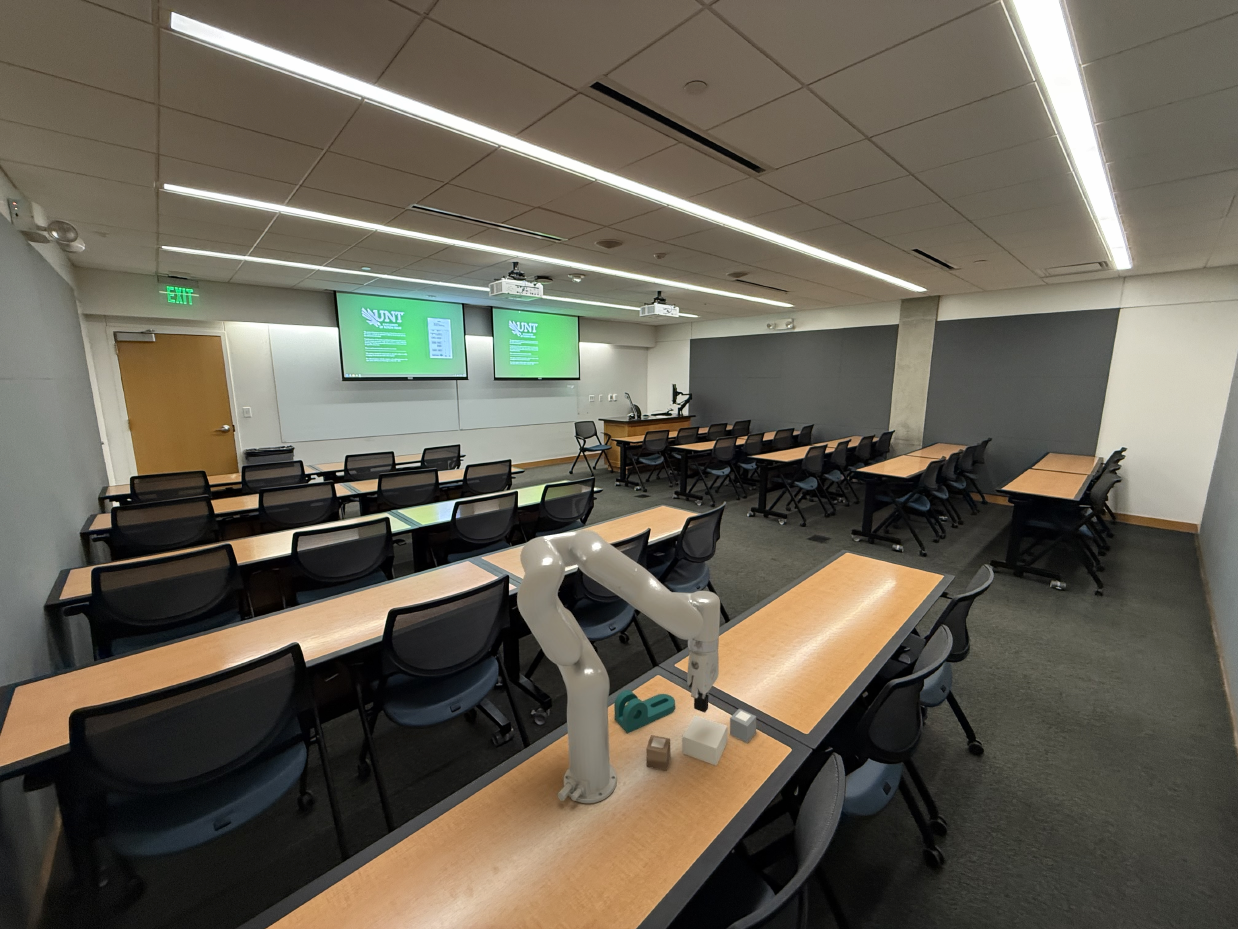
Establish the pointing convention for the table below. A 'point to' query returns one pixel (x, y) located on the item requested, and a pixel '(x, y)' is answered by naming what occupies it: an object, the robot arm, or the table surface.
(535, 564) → the robot arm
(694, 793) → the table surface
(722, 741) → the plain block
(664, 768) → the walnut block
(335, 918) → the table surface
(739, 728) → the slate block
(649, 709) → the bracket
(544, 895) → the table surface
